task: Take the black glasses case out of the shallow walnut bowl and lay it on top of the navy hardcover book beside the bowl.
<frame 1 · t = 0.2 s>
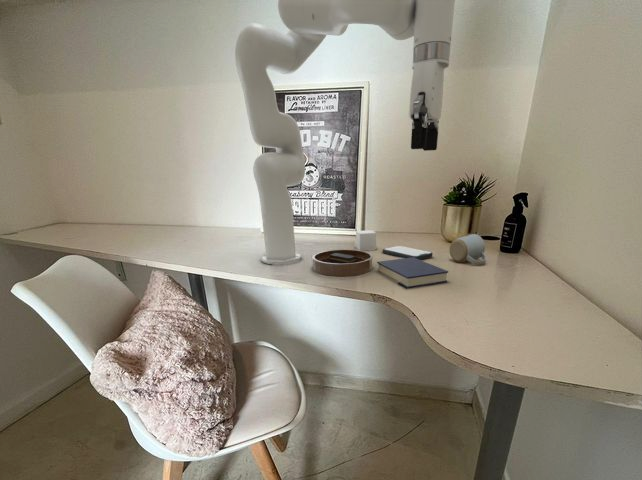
hand: (424, 149, 77), 31 cm above the table, tool pointing down, fingers open, 9 cm apart
book: (410, 276, 90), on the table
ceramic mug: (468, 261, 103), on the table
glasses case: (342, 267, 97), point 1 cm above the table, touching bowl
bowl: (342, 269, 97), on the table
white cube: (365, 249, 122), on the table
phone case: (406, 255, 112), on the table
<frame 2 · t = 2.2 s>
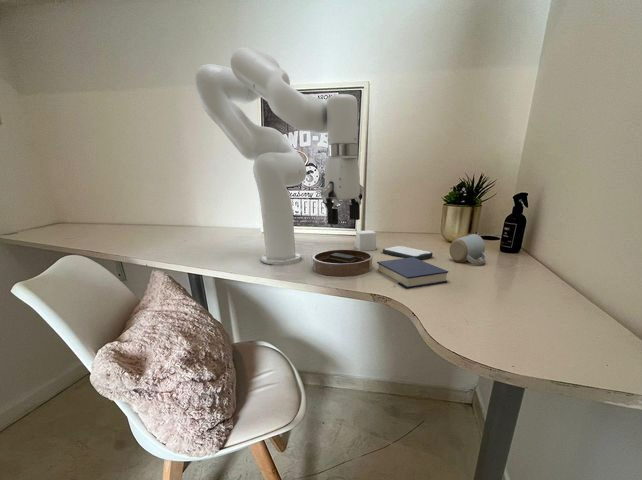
hand: (344, 221, 92), 14 cm above the table, tool pointing down, fingers open, 9 cm apart
nothing on the table moved.
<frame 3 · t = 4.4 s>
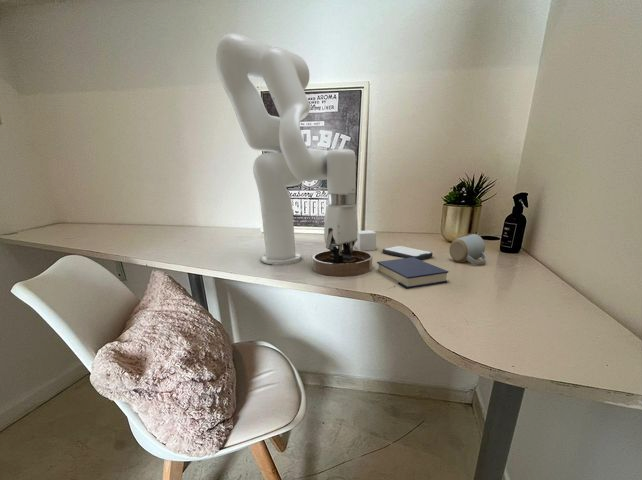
hand: (342, 266, 97), 1 cm above the table, tool pointing down, fingers closed on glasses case, 3 cm apart
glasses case: (342, 267, 97), point 1 cm above the table, touching bowl, gripper
everything else where it was.
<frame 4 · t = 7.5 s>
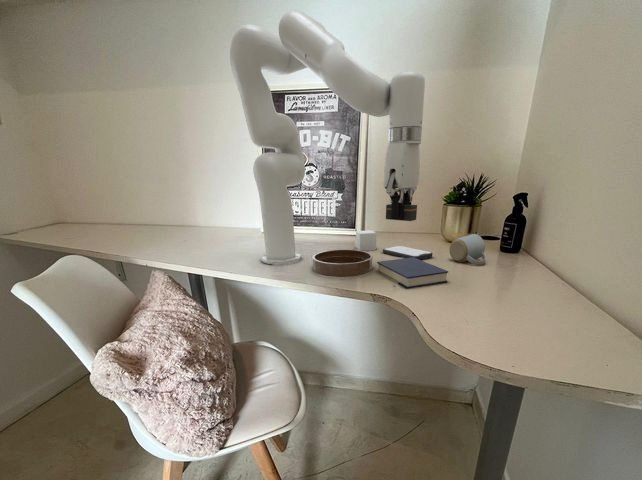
hand: (400, 217, 85), 15 cm above the table, tool pointing down, fingers closed on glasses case, 3 cm apart
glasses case: (400, 219, 85), point 15 cm above the table, touching gripper
everything else where it was.
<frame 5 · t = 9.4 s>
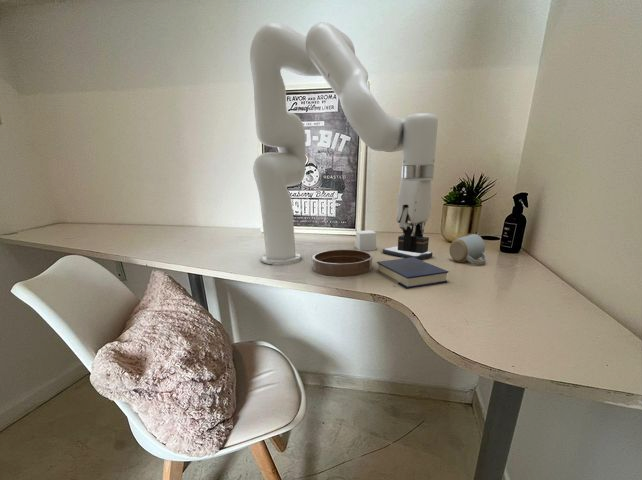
hand: (412, 249, 87), 7 cm above the table, tool pointing down, fingers closed on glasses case, 3 cm apart
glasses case: (412, 250, 87), point 7 cm above the table, touching gripper
everything else where it was.
when the fingers open (3 cm above the table, at t = 10.7 s): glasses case stays where it is, resting on book.
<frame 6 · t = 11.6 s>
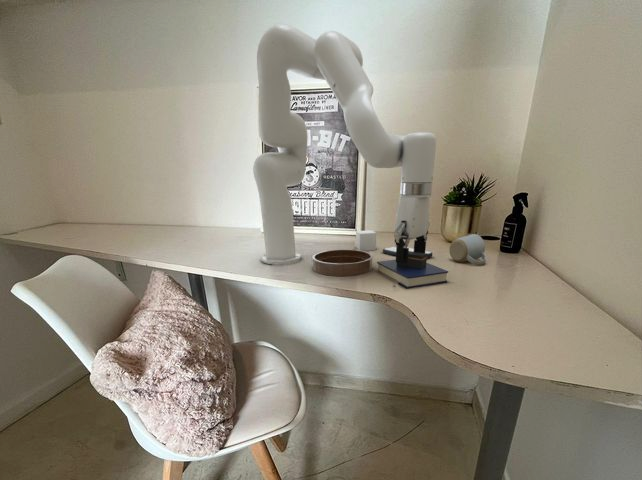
hand: (410, 259, 88), 5 cm above the table, tool pointing down, fingers open, 9 cm apart
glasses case: (411, 266, 89), point 3 cm above the table, touching book
everything else where it was.
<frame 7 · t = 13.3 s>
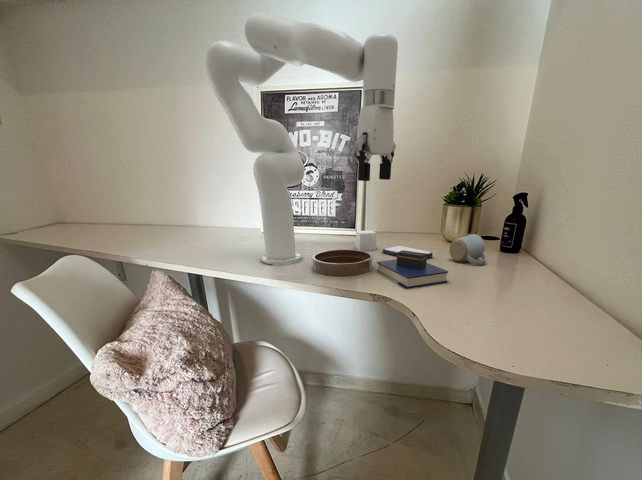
hand: (374, 180, 86), 24 cm above the table, tool pointing down, fingers open, 9 cm apart
nothing on the table moved.
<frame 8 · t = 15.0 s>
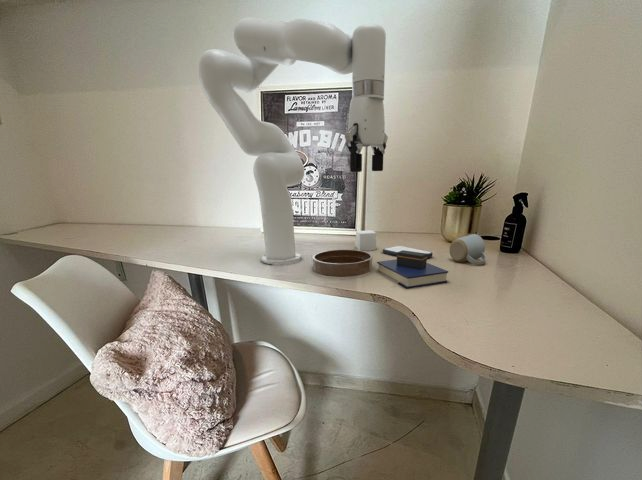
hand: (367, 171, 86), 26 cm above the table, tool pointing down, fingers open, 9 cm apart
nothing on the table moved.
at the end: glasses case inside the target area on the book (0.1 cm from its centre), point 2.9 cm above the book's base; the gripper is holding nothing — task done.
